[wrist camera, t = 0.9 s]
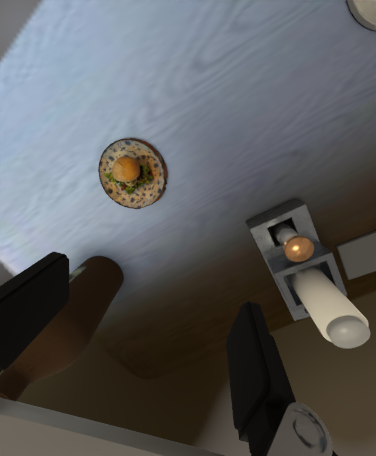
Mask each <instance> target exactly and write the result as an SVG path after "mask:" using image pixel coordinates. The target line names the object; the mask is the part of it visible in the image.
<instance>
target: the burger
mask: <svg viewBox="0 0 376 456" xmlns="http://www.w3.org/2000/svg"><path fill="white" fill-rule="evenodd" d="M99 177H100V182H101V184H102V187H103V189H104V190H105V192H106V194H107V195H108V196H109V197H110V198H111V199H112V200H114V201H115V202H116V203H118V204H119V205H122V206H124V207H128V208H134V209H140V208H143V207H145V206H148V205H151V204H153V203H154V202H156V201H158V200H159V199H160V198H161V196H162V194H163V192H164V190H165V189H166V188H165V187H164V186H165V185H166V184H167V183H166V182H167V181H166V178H167V176H166V164H165V162H164V160H163V158H162V156H161V155H160V154H159V153H158V151H156V150H155V149H154V148H153V146H151V145H150V144H148V143H147V142H145V141H142V140H139V139H134V138H130V139H121V140H118V141H115V142H114V143H112V144H110V145H109V146H108V147H107V148H106V149H105V150H104V152H103V153H102V156H101V159H100V162H99Z"/></svg>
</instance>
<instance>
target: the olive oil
mask: <svg viewBox="0 0 376 456" xmlns="http://www.w3.org/2000/svg"><path fill="white" fill-rule="evenodd" d="M122 282H123V273H122V271H121V269H120V267H119V266H118V265H117V264H116V263H115V262H113V261H112V260H110V259H108V258H105V257H100V256H96V257H92V258H89V259H88V260H86V261H85V262H84V263H83V264H82V265H80V266H79V267H78V268H77V269H76V270H74V271H73V272H72V273H71V274H70V275H69V296H70V297H69V300H68V302H67V304H66V305H65V306H64V307H63V308H62V309H61V311H60V312H59V313H58V314H57V315H56V316H55V317H54V318H53V319H52V320H51V321H50V323H49V324H48V325H47V326H46V327H45V328H44V329H43V330H42V331H41V332H40V333H39V335H38V336H37V337H36V338H35V339H34V340H33V341H32V342H31V343H30V344H29V346H28V347H27V348H26V349H25V350H24V351H23V352H22V353H21V354H20V355H19V356H18V358H17V359H16V360H15V361H14V362H13V363H12V364H11V365H10V366H9V367H8V368H7V369H5V370H3V373H2V374H1V375H0V398H3V399H8V400H12V401H17V399H18V398H19V397H20V395H21V394H22V392H23V391H24V390H25V388H26V387H27V386H28V385H29V384H31V383H33V382H35V381H38V380H40V379H43V378H46V377H48V376H51V375H53V374H56V373H58V372H60V371H62V370H64V369H66V368H67V367H69V366H70V365H71V364H72V363H74V362H75V360H77V359H78V358H79V357H80V355H81V354H82V353H83V352H84V350H85V349H86V347H87V345H88V344H89V342H90V340H91V338H92V336H93V334H94V333H95V331H96V329H97V327H98V325H99V323H100V322H101V320H102V318H103V316H104V314H105V313H106V311H107V309H108V307H109V305H110V304H111V302H112V300H113V298H114V297H115V295H116V293H117V292H118V290H119V288H120V287H121V285H122Z"/></svg>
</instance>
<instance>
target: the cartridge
mask: <svg viewBox="0 0 376 456" xmlns="http://www.w3.org/2000/svg"><path fill="white" fill-rule="evenodd" d="M286 277H287V279H288V280H289V282H290V284H291V285H292V287H293V288H294V290H295V292H296V293H297V295H298V296H299V298H300V300H301V301H302V303H303V304H304V306H305V308H306V309H307V311H308V312H309V314H310V316H311V317H312V319H313V320H314V322H315V324H316V325H317V327H318V328H319V330H320V332H321V333H322V335H323V336H324V338H326V339H327V340H328V341H330V342H333V343H334V344H335V345H336V346H338V347H341V348H354V347H357V346H360V345H362V344H364V343H365V342H366V341H367V340H368V339H369V337H370V330H369V328H368V321H367V319H366V318H365V317H364V316H363V315H362V314H361V313H360V312H359V311H358V309H356V307H355V306H354V305H353V304H352V303H351V302H350V301H349V300H348V299H347V298H346V297H345V296H344V295H343V294H342V293H341V291H340V290H339V289H338V288H337V287H336V286H335V285H334V284H333V283H332V282H331V281H330V280H329V279H328V278H327V277H326V276H325V275H324V273H323V272H322V271H321V270H320V269H319V268H318V267H317V266H316V265H313V266H310V267H308V268H305V269H302V270H299V271H297V272H294V273H291V274H289V275H286Z"/></svg>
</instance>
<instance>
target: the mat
mask: <svg viewBox="0 0 376 456" xmlns="http://www.w3.org/2000/svg"><path fill="white" fill-rule="evenodd" d="M336 248H337V251H338V254H339V257H340V260H341V263H342V266H343V269H344V271H345V274H346V277H347V279H348V280H350V279H353V278H356V277H359V276H362V275H365V274H368V273H371V272H374V271H376V230H375V231H372V232H370V233H367V234H365V235H362V236H359V237H357V238H354V239H352V240H349V241H346V242H344V243H341V244H338V245H336Z"/></svg>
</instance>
